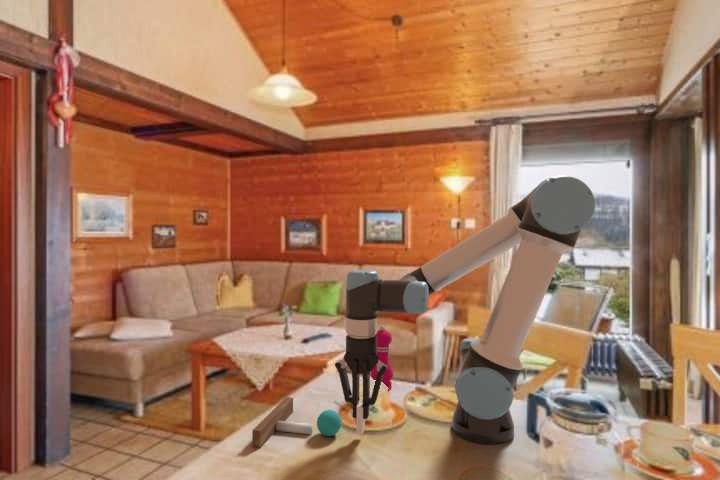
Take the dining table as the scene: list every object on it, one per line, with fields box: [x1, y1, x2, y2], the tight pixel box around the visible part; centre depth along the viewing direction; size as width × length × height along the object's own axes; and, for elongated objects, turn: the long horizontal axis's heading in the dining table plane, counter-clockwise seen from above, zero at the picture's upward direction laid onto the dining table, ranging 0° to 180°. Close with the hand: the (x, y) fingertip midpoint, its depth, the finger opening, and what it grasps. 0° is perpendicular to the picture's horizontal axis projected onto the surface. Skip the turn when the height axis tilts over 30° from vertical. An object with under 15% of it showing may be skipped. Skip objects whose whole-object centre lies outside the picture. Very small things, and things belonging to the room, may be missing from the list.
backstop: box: [251, 396, 294, 449], centre depth 111 cm, size 2×20×4 cm, turn 167°
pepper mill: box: [370, 324, 394, 391], centre depth 139 cm, size 7×7×20 cm
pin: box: [275, 420, 314, 435], centre depth 109 cm, size 2×2×9 cm
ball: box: [316, 409, 342, 437], centre depth 107 cm, size 6×6×6 cm
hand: (360, 430), depth 106 cm, fingers closed
